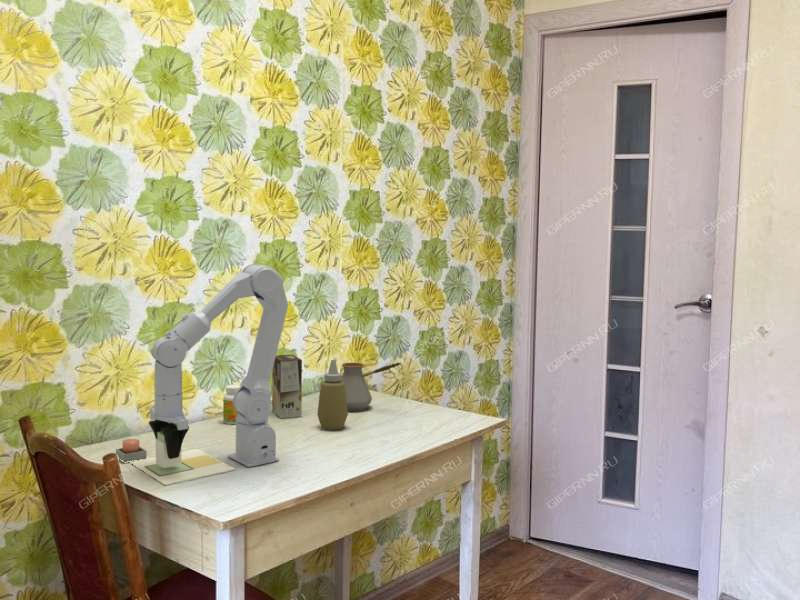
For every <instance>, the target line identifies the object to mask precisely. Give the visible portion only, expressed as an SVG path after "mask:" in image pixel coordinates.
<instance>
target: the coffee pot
mask: <svg viewBox="0 0 800 600" xmlns="http://www.w3.org/2000/svg"><path fill="white" fill-rule="evenodd" d="M400 365H401V368H400ZM364 366H365V364H364V363H360V362H344V363H342V364H341V367H343V373H342V380H341V381H343V382H344V383H345V388H346V400H347V412H358V411H359V410H360V411H364V410H365V409H366V408H367V407H368V406H370V404H371V402H372V400H373V397H372V395H371V392H370V389H369V387H368V384H367V381H366V380H365V377H368V376H371V375H374V374H378V373H381V372H384V371H388V370H390V369H392V368H393V369H395V367H398V369H399V370H403V368H404V367H403V364H402V362H395V363H391V364H389V365H388V364H387V365H384V366H381V367H380V368H377V369H374V370H372V371H368V372H366V373H362V371H363V368H364ZM360 411H359V412H360Z"/></svg>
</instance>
